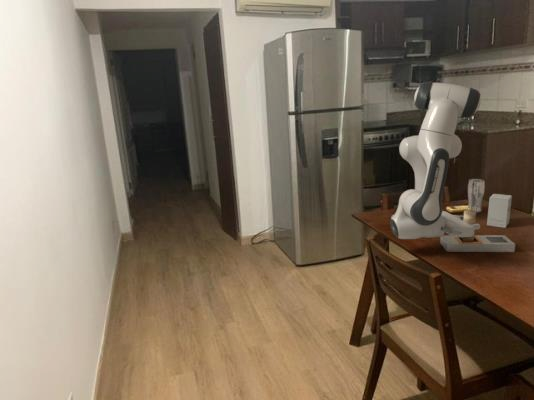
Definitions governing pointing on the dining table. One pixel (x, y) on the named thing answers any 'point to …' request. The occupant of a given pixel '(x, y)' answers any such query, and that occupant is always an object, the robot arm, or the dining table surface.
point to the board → (478, 244)
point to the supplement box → (499, 210)
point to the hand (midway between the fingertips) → (471, 222)
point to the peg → (470, 219)
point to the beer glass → (475, 194)
